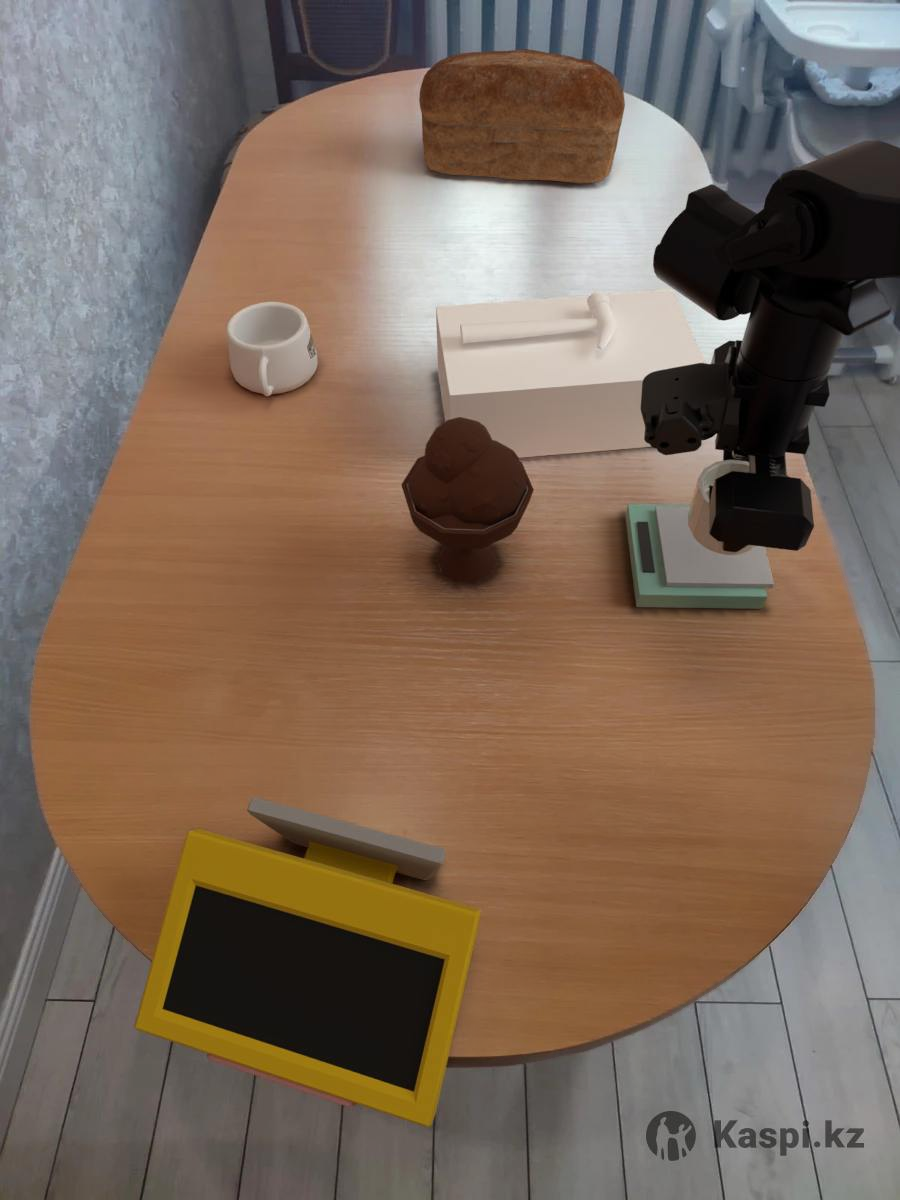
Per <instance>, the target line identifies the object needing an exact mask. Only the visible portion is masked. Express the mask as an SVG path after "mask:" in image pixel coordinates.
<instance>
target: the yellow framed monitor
mask: <svg viewBox="0 0 900 1200" xmlns="http://www.w3.org/2000/svg"><path fill="white" fill-rule="evenodd" d="M246 811H247V812H248V813H249V815H250V816H252V817H253V818H255V819H256V820H258V821H259V822H261V823H262V824H264V825H265V826H267V827H268V828H270V829H271V830H273V831H275V832H276V833H277V834H279V835H280V836H282V837H283V838H285V839H286V840H287V841H289V842H291V843H292V844H295V845H298V846H301V847H304V848H307V850H306V851H305V852H306V853H305V854H304V858H303V857H299V856H296V855H292V854H289V853H285V852H282V851H278V850H275V849H271V848H268V847H264V846H260V845H258V844H254V843H250V842H247V841H243V840H240V839H237V838H232V837H229V836H226V835H222V834H218V833H215V832H211V831H208V830H205V829H202V828H196V829H192V830H189V831H188V832H186V834H185V839H184V841H183V842H184V843H183V846H182V849H181V852H180V857H179V860H178V865H177V868H176V871H175V874H174V875H175V876H174V879H173V882H172V887H171V890H170V894H169V896H168V897H169V898H168V901H167V905H166V909H165V912H164V915H163V919H162V923H161V927H160V930H159V934H158V938H157V940H156V941H157V942H156V944H155V948H154V952H153V956H152V960H151V964H150V966H149V971H148V974H147V977H146V982H145V985H144V988H143V993H142V996H141V1000H140V1003H139V1007H138V1011H137V1014H136V1018H135V1022H134V1028H135V1030H136V1031H139V1032H142V1033H145V1034H147V1035H151V1036H154V1037H156V1038H160V1039H163V1040H166V1041H168V1042H172V1043H174V1044H178V1045H181V1046H184V1047H187V1048H190V1049H192V1050H196V1051H199V1052H202V1053H204V1054H206V1057H207V1059H208V1060H209V1061H211V1062H214V1063H217V1064H220V1065H223V1066H226V1067H229V1068H232V1069H234V1070H238V1071H241V1072H244V1073H247V1074H250V1075H253V1076H256V1077H259V1078H262V1079H264V1080H268V1081H271V1082H274V1083H277V1084H280V1085H283V1086H286V1087H289V1088H292V1089H295V1090H297V1091H301V1092H303V1093H306V1094H309V1095H312V1096H315V1097H318V1098H321V1099H325V1100H327V1101H330V1102H333V1103H336V1104H339V1105H342V1106H345V1107H349V1108H350V1107H355V1106H356V1105H360V1106H363V1107H365V1108H367V1109H368V1108H369V1109H371V1110H374V1111H377V1112H381V1113H383V1114H387V1115H389V1116H392V1117H396V1118H398V1119H401V1120H403V1121H404V1120H405V1121H407V1122H410V1123H413V1124H416V1125H420V1126H422V1127H425V1128H429V1127H431V1126H432V1125H433V1122H434V1119H435V1116H436V1114H437V1107H438V1104H439V1100H440V1096H441V1091H442V1088H443V1087H442V1086H443V1083H444V1079H445V1074H446V1070H447V1066H448V1060H449V1057H450V1052H451V1049H452V1044H453V1038H454V1034H455V1030H456V1025H457V1021H458V1017H459V1012H460V1008H461V1005H462V1004H461V1003H462V999H463V996H464V992H465V986H466V981H467V978H468V973H469V969H470V965H471V961H472V956H473V952H474V947H475V943H476V938H477V936H478V935H477V934H478V930H479V925H480V922H481V916H482V911H481V909H480V908H478V907H475V906H472V905H469V904H466V903H461V902H458V901H454V900H451V899H447V898H444V897H440V896H436V895H433V894H429V893H426V892H424V891H423V892H422V891H419V890H415V889H412V888H408V887H405V886H401V885H398V884H394V879H395V876H396V873H397V874H401V875H404V876H408V877H410V878H411V877H412V878H414V879H418V880H422V881H428V880H430V879H432V877H433V876H434V875H435V874H436V872H438V870H439V869H440V868H441V867H442V866H443V864H444V861H445V857H446V854H447V853H446V850H445V848H442V847H439V846H435V845H431V844H428V843H424V842H420V841H417V840H414V839H409V838H406V837H402V836H398V835H395V834H391V833H389V832H388V833H387V832H384V831H380V830H377V829H373V828H369V827H365V826H362V825H359V824H354V823H351V822H347V821H343V820H341V819H340V820H339V819H336V818H332V817H329V816H326V815H321V814H318V813H314V812H311V811H307V810H303V809H299V808H296V807H292V806H289V805H285V804H281V803H279V802H278V803H277V802H274V801H270V800H266V799H263V798H260V797H255V796H254V797H252V798H251V799H250V801H249V803H248V805H247V808H246Z"/></svg>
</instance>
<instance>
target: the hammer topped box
mask: <svg viewBox="0 0 900 1200" xmlns="http://www.w3.org/2000/svg"><path fill="white" fill-rule="evenodd" d="M435 316H436V317H435V321H436V322H435V323H436V324H435V325H436V349H437V350H436V353H437V376H438V383H439V389H440V397H441V404H442V410H443V416H444V422H445V421H447V420H450V419H454V418H458V417H462V418H467V419H471V420H475V421H478V422H480V423H481V424H482V425H484V426H485V427H486V429H487V431H488V432H489V434H490V436H491V438H492V440H495V441H498V442H499V443H501V444H503V445H505V446H507V447H508V448H510V449H512V450H513V451H514V452H515V453H516V455H517V456H518V458H519V459H521V458H532V457H544V456H545V457H547V456H556V455H557V456H558V455H567V454H568V455H569V454H580V453H592V452H605V451H606V452H607V451H616V450H629V449H641V448H653V447H652V446H651V445H650V444H649V443H647V442H646V441H645V440H644V436H645V435H644V434H645V425H644V421H643V417H642V413H641V395H642V382H643V379H644V378H645V377H646V376H647V375H648V374H650V373H652V372H654V371H659V370H664V369H670V368H675V367H680V366H686V365H691V364H697V363H706V361H705V358H704V355H703V354H702V351H701V350H700V349H701V348H700V347H699V346H698V343H697V341H696V338H695V336H694V335H693V332H692V329H691V327H690V325H689V322H688V321H687V318H686V317H685V314H684V312H683V309H682V307H681V305H680V303H679V301H678V299H677V296H676V294H675V292H674V289H673V288H669V289H657V290H655V289H654V290H642V291H631V292H630V291H629V292H615V293H606V292H603V291H595V292H593V293H591V294H589V295H575V296H561V297H560V296H559V297H548V298H534V299H522V300H520V299H519V300H507V301H506V300H505V301H495V302H480V303H465V304H454V305H453V304H452V305H442V306H441V305H439V306H438V305H437V306H435Z"/></svg>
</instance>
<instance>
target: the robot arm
mask: <svg viewBox="0 0 900 1200" xmlns="http://www.w3.org/2000/svg"><path fill="white" fill-rule="evenodd" d="M652 260H653V261H652V263H653V264H652V267H653V271H654V275H655V276H656V278H657V279H659V280H660V281H662V282H663V283H664V284H666V285H667V286H669V287H670V288H671V289H672V290H675V291H676V292H677V293H678V294H680V295H682V296H683V297H684V298H686V299H687V300H689V301H691V302H692V303H693V304H694V305H696V306H698V307H699V308H700V309H702V310H703V311H705V312H706V313H708V314H709V315H710V316H712V317H714V318H715V319H717V320H718V321H724V322H725V321H729V320H732V319H735V318H737V317H738V316H740V315H748V314H749V315H748V319H747V322H746V327H745V330H744V334H743V337H742V340H738V339H736V340H728V341H726V342H725V343H722V344H721V345H720V346H718V347H716V348H715V349H714V350H713V354H712V357H711V361H710V363H706V362H705V363H697V364H691V365H686V366H680V367H675V368H670V369H664V370H659V371H654V372H652V373H650V374H648V375H647V376H646V377H645V378H644V379H643V382H642V395H641V413H642V417H643V421H644V425H645V434H644V435H645V436H644V440H645V441H646V442H647V443H649V444H650V445H651V446H652V447H651V448H653V449H656V450H657V452H658V453H660V454H662V455H664V456H671V455H677V454H679V455H680V454H684V453H691V452H696V451H698V450H699V449H700V448H701V447H702V445H703V444H702V443H703V442H702V441H706V440H709V439H711V438H714V436H715V435H716V436H715V440H714V449H715V450H717V451H718V450H719V451H722V461H724V460H739V461H747V462H749V473H747V472H738V471H731V472H729V473H727V474H725V475H723V476H721V477H719V478H717V479H715V482H714V485H713V486H709V534H710V535H711V536H712V537H713V538H715V539H716V540H717V541H719V542H723V550H724V551H728V552H738V551H740V550H741V549H743V548H745V547H746V546H748V545H753V546H761V547H765V548H771V549H779V550H786V551H788V550H789V551H794V552H795V551H796V552H798V551H799V550H801V549H802V548H804V547H806V545H807V543H808V541H809V539H810V537H811V534H812V532H813V530H814V528H815V522H814V512H813V511H814V510H813V502H812V492H811V489H810V487H808V485H807V484H806V483H805V482H804V481H803V479H802V478H800V477H791V476H789V475H788V471H787V461H786V460H787V458H786V453H789V454H796V455H797V454H799V455H806V454H807V452H808V449H809V446H810V445H811V441H810V431H809V430H810V429H809V422H810V420H811V417H812V414H813V412H814V410H815V407H820V408H821V407H822V408H825V407H826V405H827V403H828V400H829V397H830V385H829V379H828V378H829V377H828V374H829V371H830V369H831V367H832V363H833V361H834V359H835V356H836V354H837V351H838V348H839V346H840V343H841V341H842V338H843V336H846V337H847V336H851V335H854V334H856V333H857V332H860V331H861V330H863V329H865V328H867V327H869V326H871V325H873V324H875V323H877V322H879V321H881V320H883V319H885V318H887V317H888V316H890V314H891V313H892V307H891V305H890V303H889V300H888V298H887V296H886V295H885V294H884V293H883V292H882V291H881V289H880V287H878V284H877V280H878V279H891V278H892V279H900V147H898V146H896V145H893V144H891V143H888V142H885V141H883V140H862V141H861V142H858V143H857V142H856V143H855V144H852V145H849V146H847V147H844V148H843V149H840V150H838V151H835V152H832V153H830V154H828V155H825V156H823V157H820V158H818V159H815V160H813V161H810V162H807V163H805V164H803V165H800V166H798V167H795V168H793V169H790V170H788V171H785V172H783V173H782V174H780V176H779V177H778V178H777V179H776V180H775V182H773V183H772V185H771V187H770V188H769V191H768V192H767V195H766V197H765V199H764V204H763V209H761V210H760V211H759V212H758V213H757V212H755V211H754V210H752V209H750V208H748V207H746V206H745V205H744V204H742V203H740V202H737V200H734V198H732V197H731V196H730V194H728V193H727V191H725V190H723V189H721V188H720V187H718V186H716V185H715V184H713V183H711V184H709V185H706V186H703V187H700V188H698V189H696V190H694V191H691V192H689V193H688V195H687V198H686V204H685V208H684V209H683V210H682V211H681V212H680V213H679V214H678V215H677V216H676V217H675V218H674V219H673V221H671V223H670V224H669V226H668V227H667V229H666V231H665V232H664V234H663V236H662V237H661V240H660V243H657V245H656V246H655V249H654V254H653V259H652Z"/></svg>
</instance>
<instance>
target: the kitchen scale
mask: <svg viewBox="0 0 900 1200" xmlns="http://www.w3.org/2000/svg"><path fill="white" fill-rule="evenodd" d="M690 506H691V504H687V503H686V504H684V503H683V504H682V503H676V504H675V503H671V504H669V503H668V504H667V503H665V504H664V503H628V504H627V505H626V511H625V515H624V516H625V517H624V518H625V526H626V533H627V542H628V551H629V558H630V567H631V574H632V583H633V591H634V592H633V593H634V599H635V607H636V608H673V609H674V608H675V609H677V608H679V609H739V610H740V609H743V610H744V609H746V610H747V609H749V610H750V609H752V610H762V609H763V607H764V605H765V603H766V600H767V598H768V594H767V589H773V588H774V586H775V582H774V577H773V574H772V570H771V565H770V561H769V558H768V554H767V553H768V552H767V549H766V547H761V546H757V547H755V548H753V549H752V550H750V551H748V552H745V553H742V554H737V555H725V554H720V553H716V552H713V551H711V550H709V549H707V548H705V547H704V546H702V545H701V544H700V543H699V542H698V541H697V540H696V539H695V538H694V536H693V535H692V532H691V530H690V528H689V526H688V513H689V509H690Z"/></svg>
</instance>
